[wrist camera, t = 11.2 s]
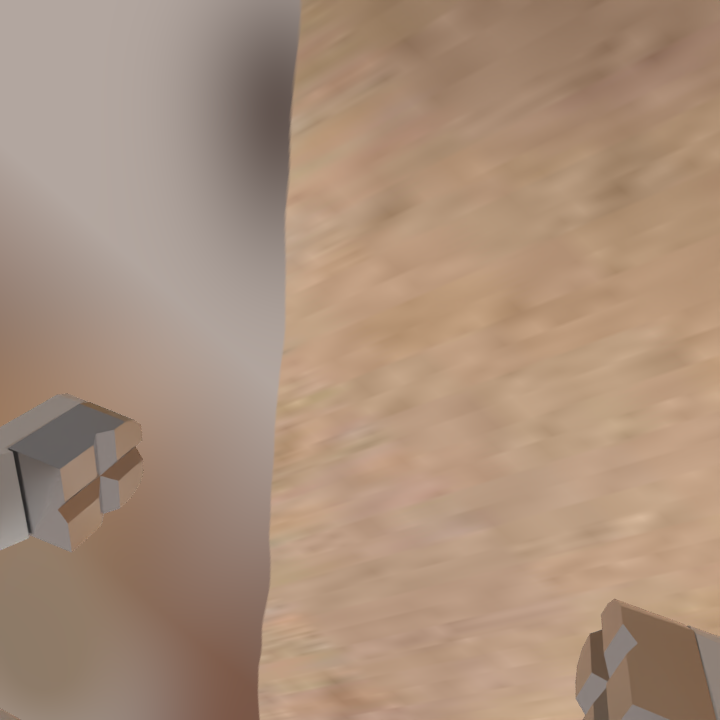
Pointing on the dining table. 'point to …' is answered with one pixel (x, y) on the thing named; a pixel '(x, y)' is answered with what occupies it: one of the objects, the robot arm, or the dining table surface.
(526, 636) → the dining table surface
